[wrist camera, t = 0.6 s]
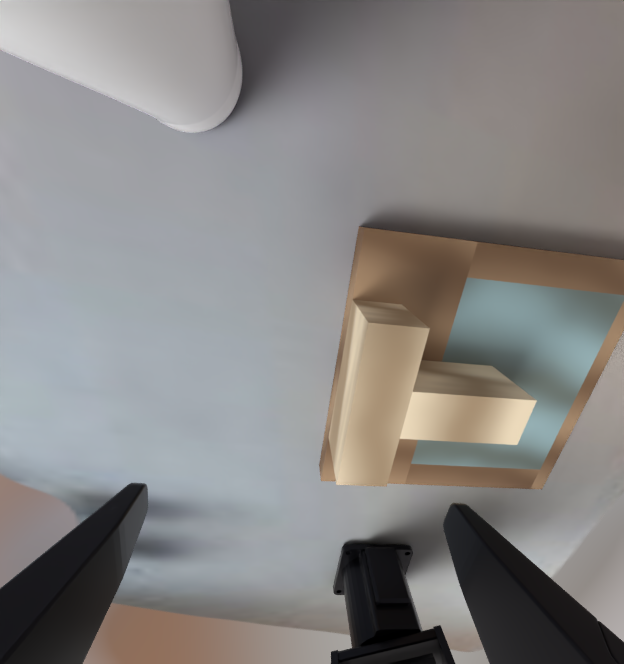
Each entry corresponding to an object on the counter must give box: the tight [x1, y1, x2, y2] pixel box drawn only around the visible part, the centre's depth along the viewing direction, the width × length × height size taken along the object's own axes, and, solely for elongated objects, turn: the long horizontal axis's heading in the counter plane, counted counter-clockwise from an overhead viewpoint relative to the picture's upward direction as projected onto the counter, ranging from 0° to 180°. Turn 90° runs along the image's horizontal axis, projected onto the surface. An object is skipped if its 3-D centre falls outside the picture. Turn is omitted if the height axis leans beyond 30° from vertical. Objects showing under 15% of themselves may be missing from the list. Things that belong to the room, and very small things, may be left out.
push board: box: [319, 226, 624, 489], centre depth 22 cm, size 18×18×2 cm
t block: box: [329, 300, 537, 486], centre depth 19 cm, size 10×10×4 cm
